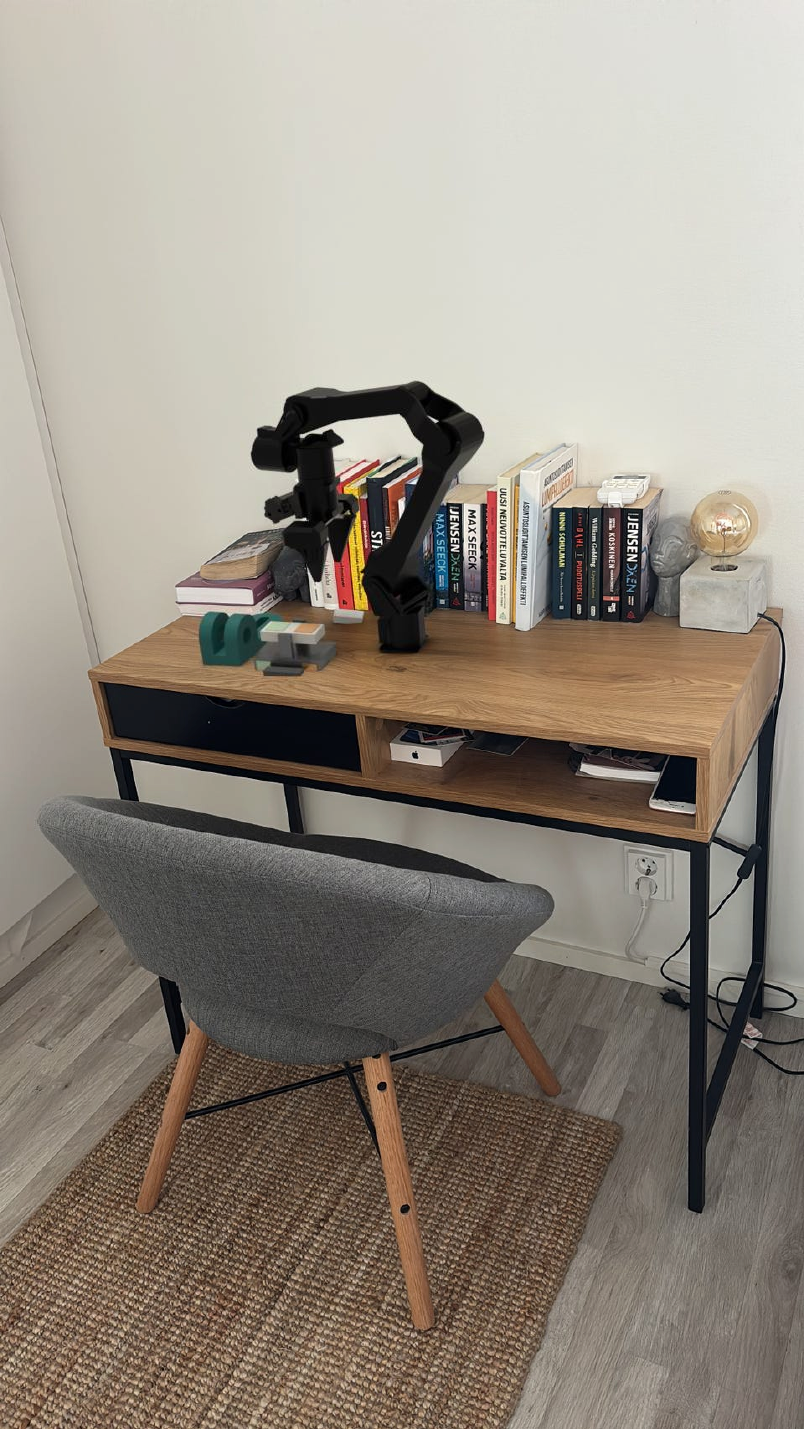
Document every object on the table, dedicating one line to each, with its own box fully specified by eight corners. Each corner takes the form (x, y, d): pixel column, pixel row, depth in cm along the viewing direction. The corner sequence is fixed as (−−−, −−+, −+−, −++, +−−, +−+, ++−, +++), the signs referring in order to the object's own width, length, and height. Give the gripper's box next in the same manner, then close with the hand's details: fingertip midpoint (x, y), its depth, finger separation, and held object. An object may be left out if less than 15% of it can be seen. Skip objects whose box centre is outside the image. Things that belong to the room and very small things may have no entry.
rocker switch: (326, 632, 178) (325, 622, 178) (314, 645, 174) (313, 634, 173) (272, 629, 181) (271, 619, 180) (260, 642, 177) (258, 631, 176)
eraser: (362, 618, 193) (363, 611, 196) (333, 615, 193) (335, 608, 196) (361, 625, 193) (363, 618, 196) (332, 622, 193) (334, 615, 197)
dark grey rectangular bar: (305, 679, 176) (303, 668, 175) (300, 684, 174) (299, 673, 173) (268, 676, 177) (267, 666, 177) (264, 681, 176) (262, 671, 175)
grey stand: (337, 659, 181) (333, 619, 178) (321, 679, 175) (316, 638, 172) (273, 655, 184) (268, 616, 181) (255, 674, 178) (249, 634, 175)
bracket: (241, 670, 181) (234, 624, 177) (203, 667, 183) (195, 621, 180) (290, 626, 196) (285, 583, 192) (255, 624, 198) (249, 580, 194)
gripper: (290, 459, 186) (302, 551, 193) (243, 492, 170) (257, 591, 177) (355, 458, 183) (365, 552, 190) (313, 492, 167) (325, 593, 174)
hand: (327, 571), depth 183 cm, fingers open, 9 cm apart
